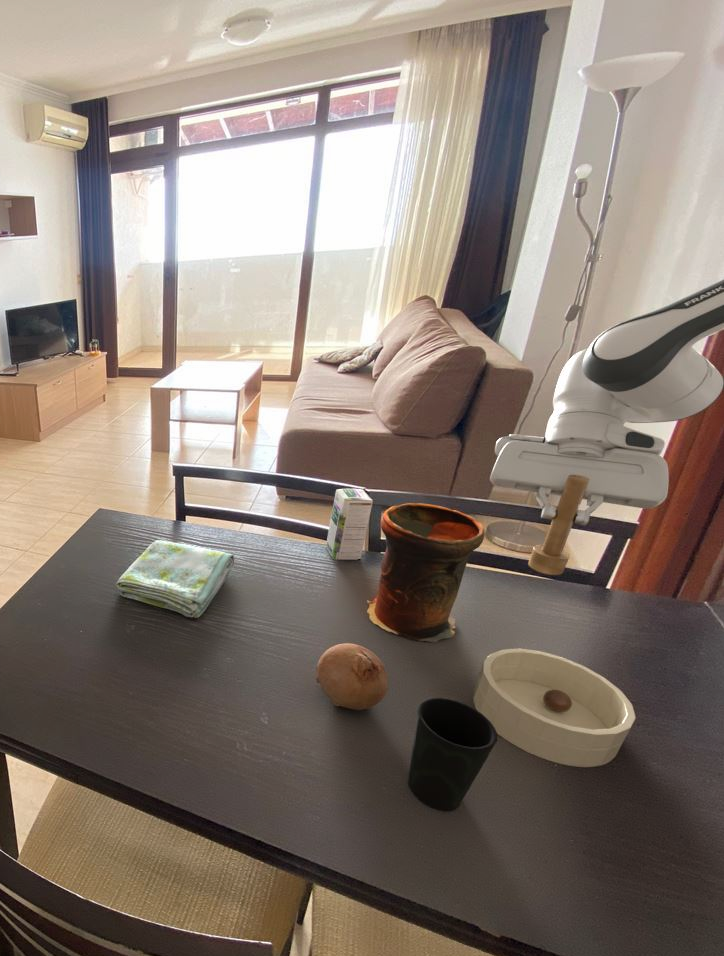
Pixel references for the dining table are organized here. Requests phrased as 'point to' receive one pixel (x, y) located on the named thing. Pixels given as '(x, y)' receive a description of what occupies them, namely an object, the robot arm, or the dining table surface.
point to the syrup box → (348, 524)
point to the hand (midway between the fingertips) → (564, 520)
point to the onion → (352, 676)
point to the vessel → (423, 569)
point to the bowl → (546, 731)
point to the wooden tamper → (559, 529)
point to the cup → (448, 751)
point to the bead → (557, 700)
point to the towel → (176, 577)
